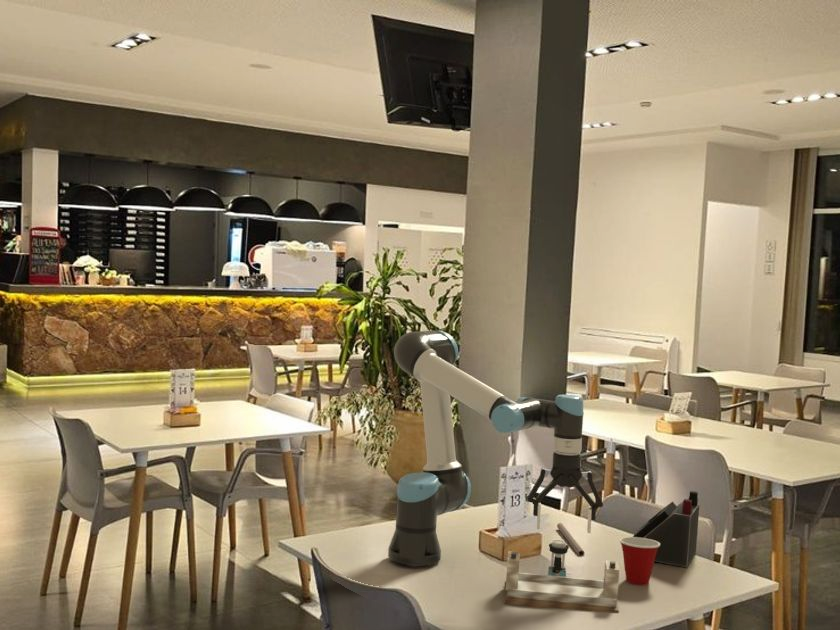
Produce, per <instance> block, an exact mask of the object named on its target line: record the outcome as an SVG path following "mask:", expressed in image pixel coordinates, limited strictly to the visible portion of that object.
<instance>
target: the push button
mask: <svg viewBox="0 0 840 630" xmlns="http://www.w3.org/2000/svg"><path fill="white" fill-rule="evenodd" d="M548 547H549V552H551V556H550V557H551V560H550V561H551V562H550V565H549V566H548V573H547V575H550V576H561V577H571V578H573V577H572V576H571V575H573V573H569V572H567V569H566V566H565V559H566V554H567V553H568V550H569V545H568V544H566V542H565V541H564V540H559V539H555V540H553V541H552V542H550V543H549V544H548ZM569 575H570V576H569Z"/></svg>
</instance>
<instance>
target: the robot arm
mask: <svg viewBox="0 0 840 630" xmlns="http://www.w3.org/2000/svg"><path fill="white" fill-rule="evenodd" d="M458 347H459V346H458V344H457V341H456V340H455V338H454V337H453V336H451V335H450V334H449V333H448V332H445V331H442V330H434V329H433V330H422V331H421V330H420V331H409V332H406V333H405V334H403V335H401V336H400V337H399V339H397V341H396V342H395V346H394V348H393V349H394V350H393V353H394V354H393V355H394V359H395V362H396V364H397V365H398V367H399V368H400V369H401V370H402V371H403V372H405V373H407V374H408V375H409V376H411V377H413V378H414V379H415V380H417V381H418V382H419V384H420V395H421V404H422V405H421V406H422V415H423V416H422V418H423V428H424V429H423V430H424V438H425V440H424V441H425V449H426V460H427V461H426V464H425V465H424V466H423V468H422V471H421V472H420V471H419V472H411V473H407V474H405V475H403V476H402V477H401V478H400V479H399V480H398V483H397V490H396V515H395V529H394V532H393V535H392V538H391V540H390V543H389V546H388V549H387V556H388V559H389V560H391V561H393V562H394V563H398V564H401V565H405V566H420V567H421V566H428V565H434V564H436V563H438V562H440V560H441V558H442V557H441V556H442V550H441V546H440V542H439V538H438V534H437V522H438V521H437V520H438V518H437V517H438V516H441V515H443V514H446V513H451V512H455V511H457V510H458V509H460V508H462V507H463V506H465V504H466V503H468V501H469V499H470V496H471V492H472V488H471V487H472V485H471V481H470V478H469V476H467V474H466V473H465V472H464V471H463V466H462V464H461V463H460V462H459V461H458V460H457V458H456V447H455V445H456V444H455V436H454V435H455V434H454V433H455V432H454V423H453V413H452V401H451V397H452V398H454V399H456V400H457V401H459V402H461V403H462V404H463V405H465V406H467V407H469V408H470V409H472V410H474V411H475V412H477V413H478V414H480V415H482V416H484V417H485V418H487V419H488V420H489V421H491V424H492V426H493V427H494V429H495V430H496V431H497V432H499V433H502V434H513V433H517V432H519V431H523V430H528V429H532V428H535V427H536V428H537V427H539V428H547V429H553V430H554V431H553V445H552V446H553V450H554V451H553V452H552V467H551V469H547V468H545V467H541V468H540V474H539V476H538V478H537V480H536V481H535V483H534V485H533V486H532V488H531V490H530V491H529V493H528V496H527V498H526V500H527V502H528V503H532V505H533V512H532V515H533V516H534V517H537V519H536V530H540V528H541V527H540V526H541V507H542V506H541V505H542V503H541V501H542V500H543V499H544V498H545V497H547V495H548V494H549V493H550V492H551V491H552V490H553V489H555V488H556V486H558V487H560V488H563V487H564V488H565V487H567V488H573V487H575V488H576V489H577V491H578V492H579V494H580V495H581V496H582V497H583V498H584V500H585V501H586V502H587V504H588V505H589V506H588V509H587V526H586V527H587V528H586V531H587V534H591V530H592V521H596V515H597V514H596V513H597V509H599V508H603V506H604V504H603V500H602V498H601V496H600V493H599V491H598V489H597V486H596V485H595V482H594V480H593V473H592V471H591V470H587V471H582V470H581V468H582V465H581V463H582V454H581V452H582V446H583V444H582V443H583V426H584V425H583V424H584V399H583V398H582V397H581V395H576V394H558V395H557V396H556V397H555V400H548V399H541V398H534V397H531V396H528V397H525V396H524V397H523V396H522V397H519V398H518V399H517V400H516V401H514V400H512V399H511V398H509V397H508V396H505V395H504V394H502V393H501V392H499V391H498V390H496V389H494V388H492V387H491V386H488V385H487V384H486V383H484V382H482V381H480V380H479V379H477V378H475V377H474V376H473V375H470V374H468V373H466V372H465V371H463V370H462V369H460V368H458V367H457V366H455V363H456V361H457V360H458V357H459V348H458ZM549 475H550V476H551V478H552V479H551V481H550V482H549V484H547V486H546V487H545V488H544V489H542V491H541V492H540V493H539V494H537V492H538V490H539V489H540V487H541V485H542V483H543V482H544V480H545V478H547V477H548V476H549ZM582 477H583V478H584V480H585V481H587V483H588V485H589V487H590V489H591V492H592V494H593V496H594V499H595V501H594V500H593V498H592V497H591V496H590V495H589V494H588V492H587V491H586V490H585V488H584V487H583V485H582V483H580V480H581V479H582ZM536 494H537V496H536ZM535 496H536V497H535Z"/></svg>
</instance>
